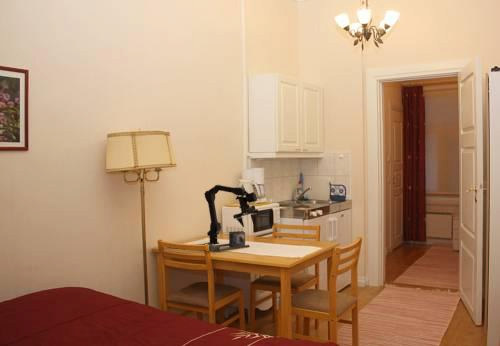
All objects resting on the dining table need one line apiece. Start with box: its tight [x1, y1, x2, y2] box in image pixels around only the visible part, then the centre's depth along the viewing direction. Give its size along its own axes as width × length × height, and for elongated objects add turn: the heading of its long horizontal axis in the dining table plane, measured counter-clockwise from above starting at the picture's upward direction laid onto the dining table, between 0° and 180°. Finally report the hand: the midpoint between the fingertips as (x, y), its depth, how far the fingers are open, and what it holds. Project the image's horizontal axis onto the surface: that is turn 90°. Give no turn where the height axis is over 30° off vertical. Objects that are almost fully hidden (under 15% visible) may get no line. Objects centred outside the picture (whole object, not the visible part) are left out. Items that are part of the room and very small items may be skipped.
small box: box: [228, 230, 246, 247], centre depth 334 cm, size 11×6×10 cm, turn 105°
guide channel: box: [207, 243, 250, 253], centre depth 330 cm, size 15×27×3 cm, turn 124°
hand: (248, 225), depth 338 cm, fingers open, 9 cm apart
